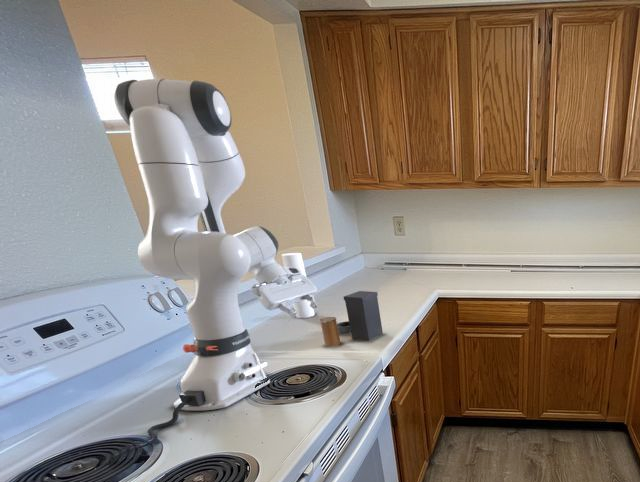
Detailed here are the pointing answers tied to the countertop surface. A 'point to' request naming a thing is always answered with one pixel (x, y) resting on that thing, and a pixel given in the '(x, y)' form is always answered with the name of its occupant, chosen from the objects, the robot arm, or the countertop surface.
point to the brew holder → (344, 328)
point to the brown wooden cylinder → (330, 331)
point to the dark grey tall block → (363, 315)
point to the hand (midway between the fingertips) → (305, 310)
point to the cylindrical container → (297, 262)
